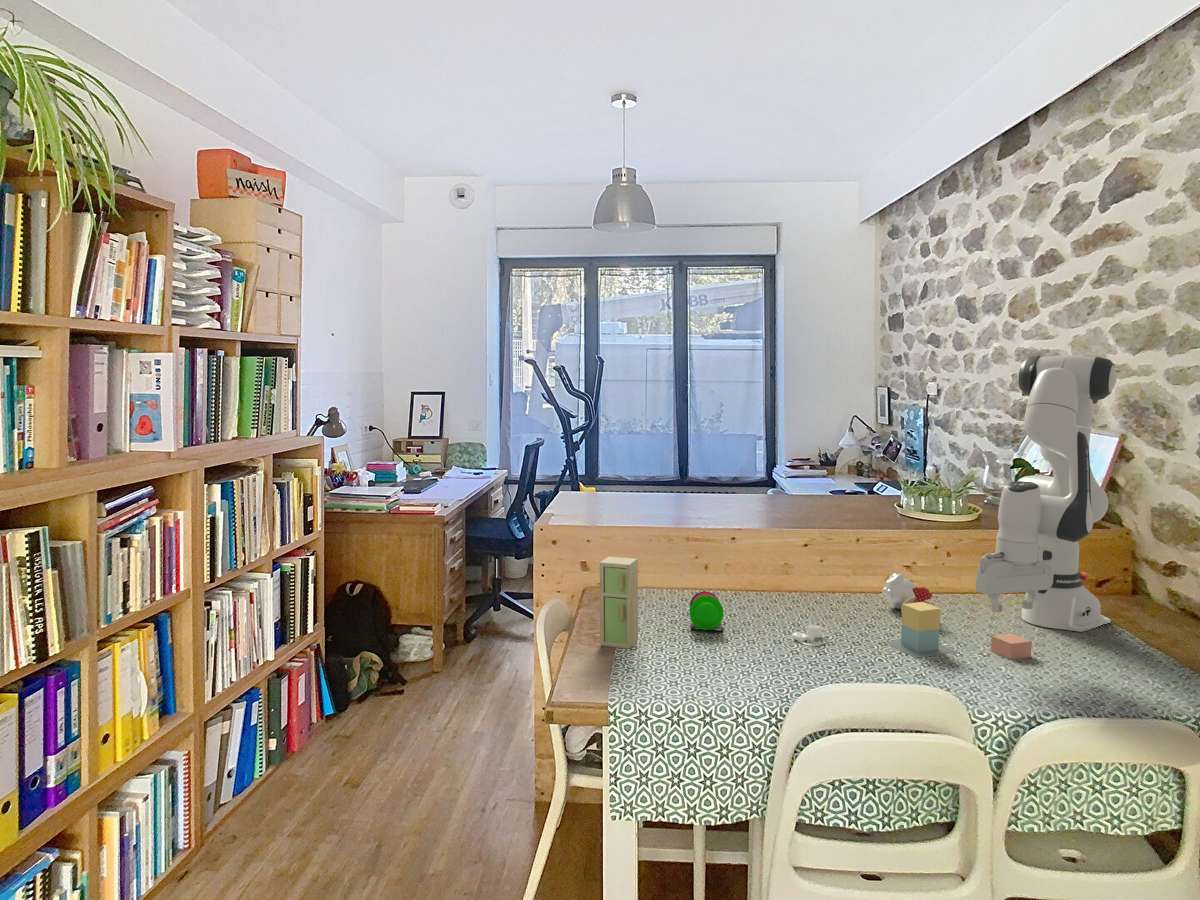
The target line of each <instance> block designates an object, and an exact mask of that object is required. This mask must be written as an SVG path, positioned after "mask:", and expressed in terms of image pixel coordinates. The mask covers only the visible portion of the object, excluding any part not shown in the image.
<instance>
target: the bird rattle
mask: <svg viewBox="0 0 1200 900" xmlns="http://www.w3.org/2000/svg"><path fill="white" fill-rule="evenodd" d="M912 590H913V593H914V595H915V597H912V598H909V599H907V600H906V601H905V602H904V603H903V604H909V603H917V602H924V603H927V604H928V602H927V601H928V600H931V598H932V597H933V594H932V593H931V592H930V589H929V588H926V587H925V586H922V587H917V586H916V587H914V588H912ZM926 600H927V601H926ZM900 611H901V614H902V608H901V609H900Z"/></svg>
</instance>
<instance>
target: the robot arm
mask: <svg viewBox="0 0 1200 900" xmlns="http://www.w3.org/2000/svg"><path fill="white" fill-rule="evenodd" d="M1117 375H1118V374H1117V370H1116V367H1115V364H1114V363H1113V361H1112V360H1111V359H1108V358H1105V357H1101V356H1100V357H1099V356H1095V357H1091V356H1087V355H1086V356H1085V355H1077V354H1076V355H1073V354H1072V355H1071V354H1067V355H1047V356H1041V355H1034V356H1029V357H1027V358H1025V360H1023V361H1022V362H1021V365H1020V366H1019V369H1018V372H1017V384H1018V388H1019V390H1020V391H1021V392H1022V393H1023V394H1025V395H1027V396H1028V400H1027V403H1026V407H1025V411H1024V419H1023V429H1024V431H1025V433H1026V435H1027V437H1029V439H1030V440H1031V441H1032V442H1033V443H1035V444H1036V445H1038V446H1040V454H1041V456H1042V457H1043V458H1044V459H1045V460H1046V461H1047V462H1048V463H1049V465H1050V467H1051V471H1052V476H1049V475H1044V474H1043V475H1042V474H1035V475H1025V476H1022V477H1021V478H1019V479H1018V480H1015V481H1010V482H1008V483H1005V484H1004V485H1003V486H1002V491H1001V495H1000V499H999V505H998V514H997V522H998V531H997V534H996V540H995V541H996V542H995V552H994V553H986V554H985V555H984V556H983V557H982V558H980V561H979V565H978V568H977V572H976V576H975V577H976V578H975V583H974V584H975V586H974V588H975V590H976V591H977V592H978V593H981V594H985V595H987V597H988V599H989V601H990V604H991V609H990V610H991V611H992V612H994V613H1001V612H1002V611H1003V604H1001V603H1000V602H999V599H1000V598H1001V597H1000V596H1001V594H1010V593H1011V594H1012V593H1022V592H1023V593H1024V592H1025V597H1024V600H1022V604H1021V606H1022V608H1021V611H1020V613H1021V619H1022V620H1023V621H1025V622H1027V623H1029V624H1031V625H1034V626H1035V625H1036V626H1038V627H1043V628H1049V629H1055V630H1056V629H1057V630H1066V631H1072V632H1073V631H1075V632H1079V633H1080V632H1081V633H1082V632H1085V631H1086V632H1087V631H1090V630H1092V628H1093V629H1096V627H1097V628H1099V627H1098V626H1100V627H1102V626H1101V625H1103V624H1107V623H1110V622H1111V619H1110V618H1108V617H1107V616H1105V615H1102V614H1101V609H1102V608H1101V602H1100V599H1098V597H1096V596H1095V595H1094V594H1093V593H1091V591H1090V590H1088V589H1087V588H1086V587H1085V586H1084V585H1083V581H1082V580H1084V581H1086V582H1087V581H1089V580H1090V579H1091V574H1090V573H1088V572H1084V571H1081V572H1079V564H1080V563H1079V562H1080V544H1079V541H1080V540H1083V539H1085V538H1086V537H1088V536H1089V535H1091V532H1092V529H1093V526H1094V523H1095V524H1096V523H1098V522H1099V521H1100V520H1102V519H1103V518H1104V516H1105V515H1106V514H1107V511H1108V508H1109V497H1108V496H1107V493H1106V491H1105V490H1104V489H1103V487H1101V486H1100V485H1099V483H1098V481H1097V480H1096V479H1095V477H1094V474H1093V471H1092V468H1091V461H1090V443H1091V442H1090V441H1091V431H1092V430H1091V429H1092V420H1093V405H1092V404H1094V405H1095V404H1098V402H1099V401H1101V400H1104V399H1106V398H1107V397H1108V396H1109V395H1111V394H1112V392H1113V390H1114V388H1115V385H1116V383H1117V378H1118V376H1117ZM1111 623H1112V622H1111ZM1111 623H1110V624H1111ZM1107 625H1108V624H1107ZM1103 626H1104V625H1103Z"/></svg>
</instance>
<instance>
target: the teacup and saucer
mask: <svg viewBox="0 0 1200 900" xmlns="http://www.w3.org/2000/svg"><path fill="white" fill-rule="evenodd" d="M821 631H823V635H822V636H821ZM825 635H826V629H825V628H821V626H820V625H818V624H809V625H808V624H807V634H805V633H802V632H797V631H796V632H793V633H792V635H791V637H792V639H794V640H795V641H797V642H798V643H800V644H803V645H806V646H811V647H823V646H827V644H826V643H821V644H820V643H819V644H811V643H818V642H819V640H818V638H820V636H821V638H824V636H825ZM807 640H808V641H809V642H811V643H808V642H807V643H806V641H807Z"/></svg>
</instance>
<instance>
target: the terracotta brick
mask: <svg viewBox="0 0 1200 900" xmlns="http://www.w3.org/2000/svg"><path fill="white" fill-rule="evenodd" d="M1032 643H1033V642H1032V640H1030V639H1027V638H1025V637H1022V636H1019V635H1017V634H1014V633H1013V632H1011V633H1003V634H996V635H991V641H990V652H992V653H995V654H997V655H999V656H1002V657H1004V658H1006V659H1009V660H1015V659H1023V658H1030V657H1032Z"/></svg>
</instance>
